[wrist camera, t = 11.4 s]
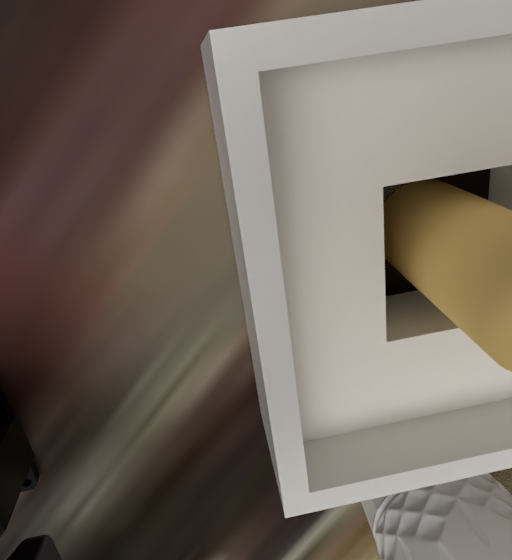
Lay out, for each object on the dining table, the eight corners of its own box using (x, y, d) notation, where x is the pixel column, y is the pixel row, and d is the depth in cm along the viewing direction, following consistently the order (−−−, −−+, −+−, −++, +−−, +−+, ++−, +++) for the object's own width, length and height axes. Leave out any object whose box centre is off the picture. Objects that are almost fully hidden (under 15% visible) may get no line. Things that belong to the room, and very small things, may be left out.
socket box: (260, 412, 23) (285, 518, 17) (200, 45, 16) (208, 30, 11) (569, 349, 24) (683, 429, 18) (630, -17, 17) (835, -59, 12)
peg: (375, 276, 21) (478, 386, 13) (373, 186, 19) (489, 257, 12) (461, 260, 21) (608, 360, 14) (467, 171, 19) (637, 230, 12)
